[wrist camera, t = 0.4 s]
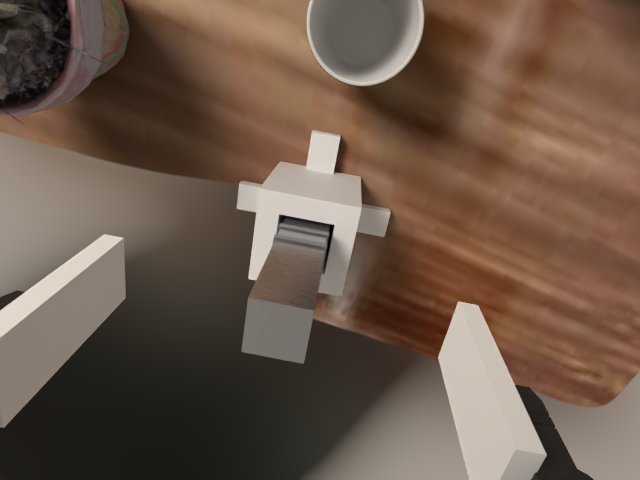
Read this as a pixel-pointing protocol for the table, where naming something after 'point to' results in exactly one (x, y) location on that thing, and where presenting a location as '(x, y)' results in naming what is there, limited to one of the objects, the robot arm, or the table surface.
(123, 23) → the potted plant
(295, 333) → the post
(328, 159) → the housing
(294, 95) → the table surface
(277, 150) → the table surface
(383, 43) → the mug
